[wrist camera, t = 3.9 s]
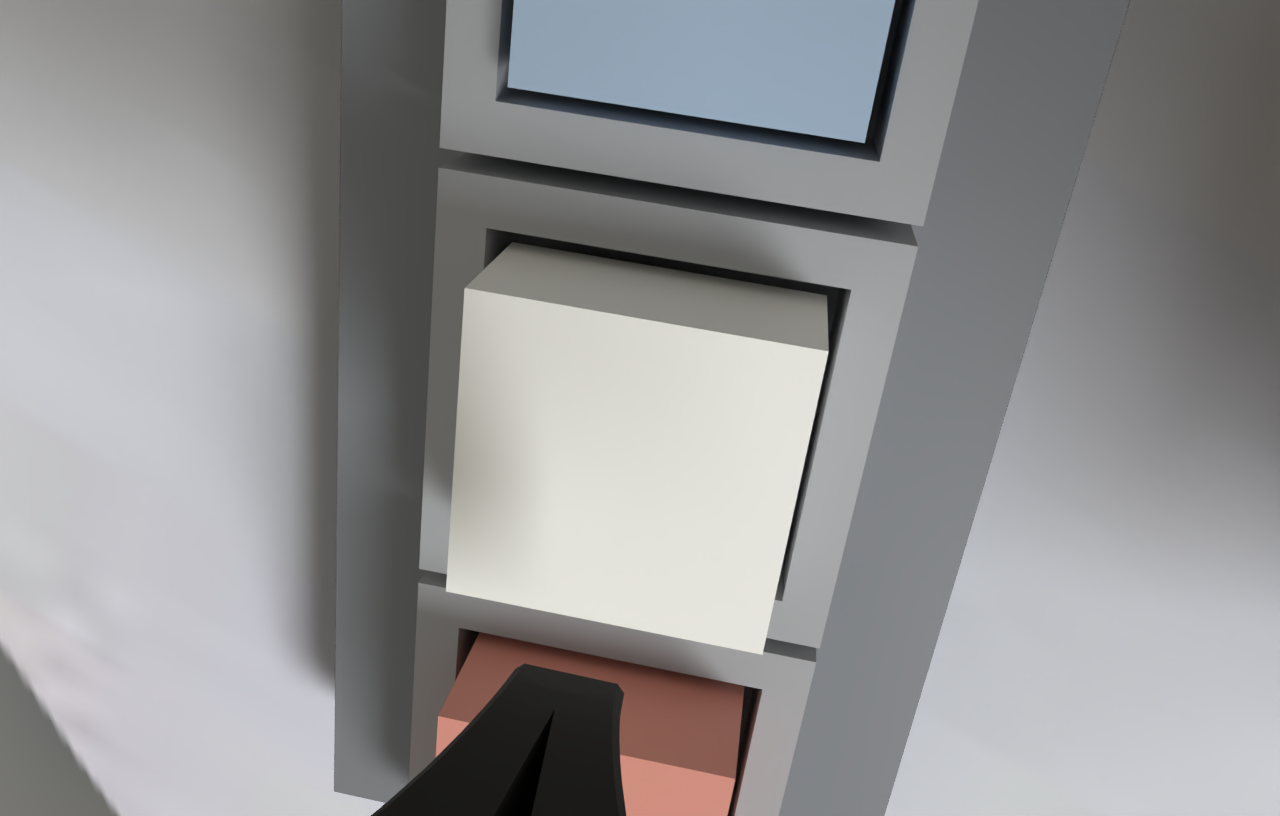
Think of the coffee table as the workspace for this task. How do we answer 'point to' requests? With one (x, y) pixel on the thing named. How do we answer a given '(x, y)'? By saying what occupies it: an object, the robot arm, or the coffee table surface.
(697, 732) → the salmon pink key
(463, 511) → the white key
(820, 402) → the key panel
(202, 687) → the coffee table surface
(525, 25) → the blue key
